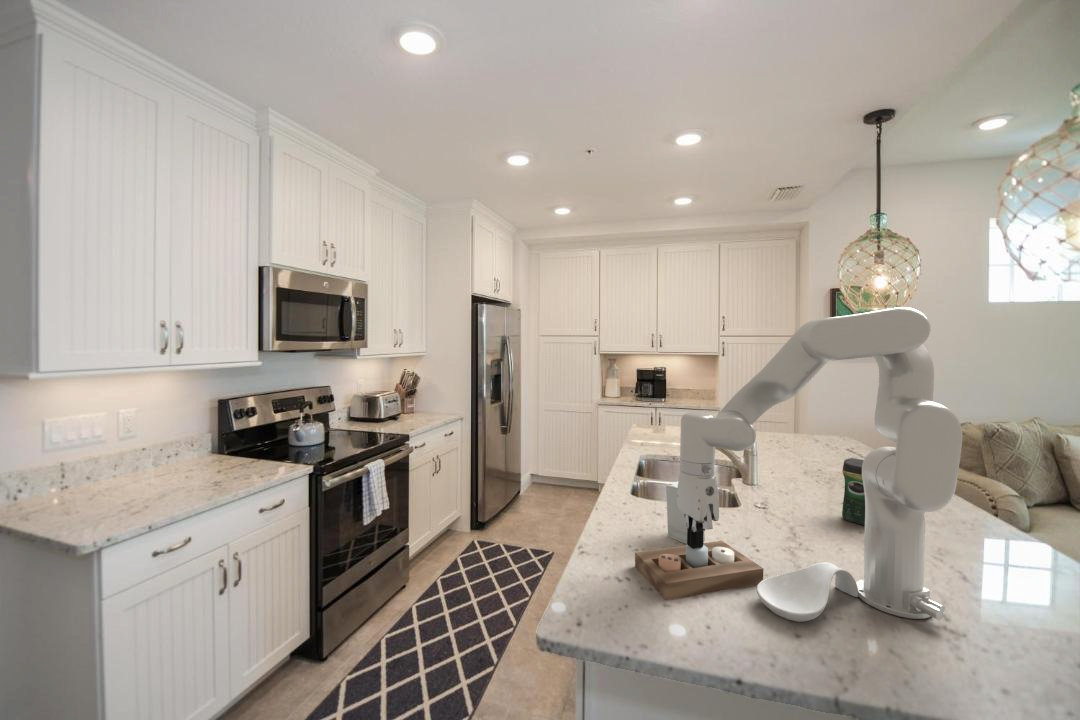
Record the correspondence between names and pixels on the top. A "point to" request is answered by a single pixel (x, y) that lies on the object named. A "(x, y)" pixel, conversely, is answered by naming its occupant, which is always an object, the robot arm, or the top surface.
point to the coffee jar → (853, 491)
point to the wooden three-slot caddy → (697, 572)
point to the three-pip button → (669, 562)
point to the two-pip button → (697, 556)
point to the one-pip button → (722, 555)
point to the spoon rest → (804, 590)
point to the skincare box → (675, 515)
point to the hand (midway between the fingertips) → (695, 545)
